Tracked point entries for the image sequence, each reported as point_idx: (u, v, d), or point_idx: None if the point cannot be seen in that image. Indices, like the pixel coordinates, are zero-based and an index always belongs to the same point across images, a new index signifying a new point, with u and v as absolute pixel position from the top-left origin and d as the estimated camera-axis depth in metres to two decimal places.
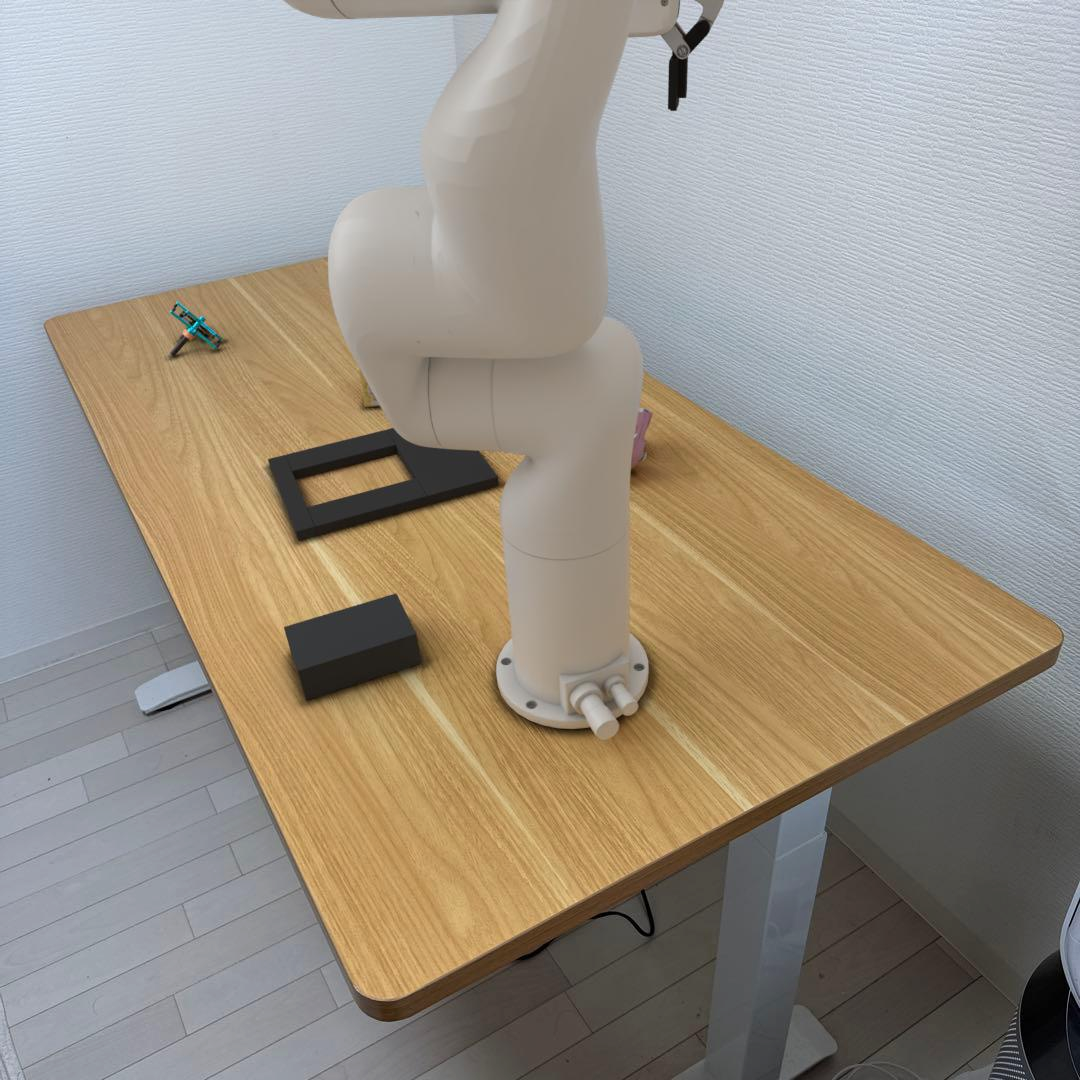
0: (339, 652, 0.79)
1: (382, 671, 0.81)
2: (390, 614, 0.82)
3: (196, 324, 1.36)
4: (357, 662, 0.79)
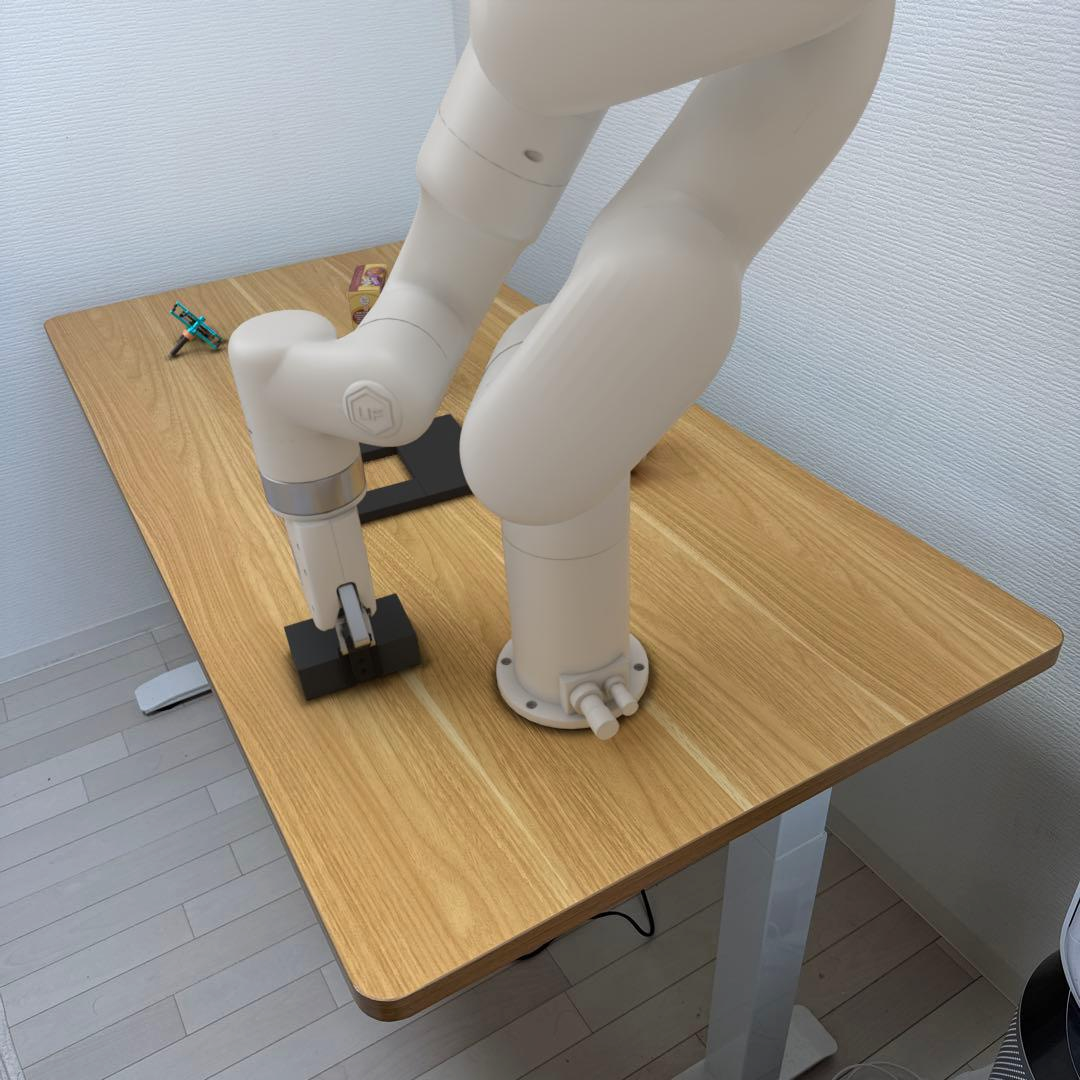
0: None
1: None
2: (390, 614, 0.82)
3: (196, 324, 1.36)
4: None
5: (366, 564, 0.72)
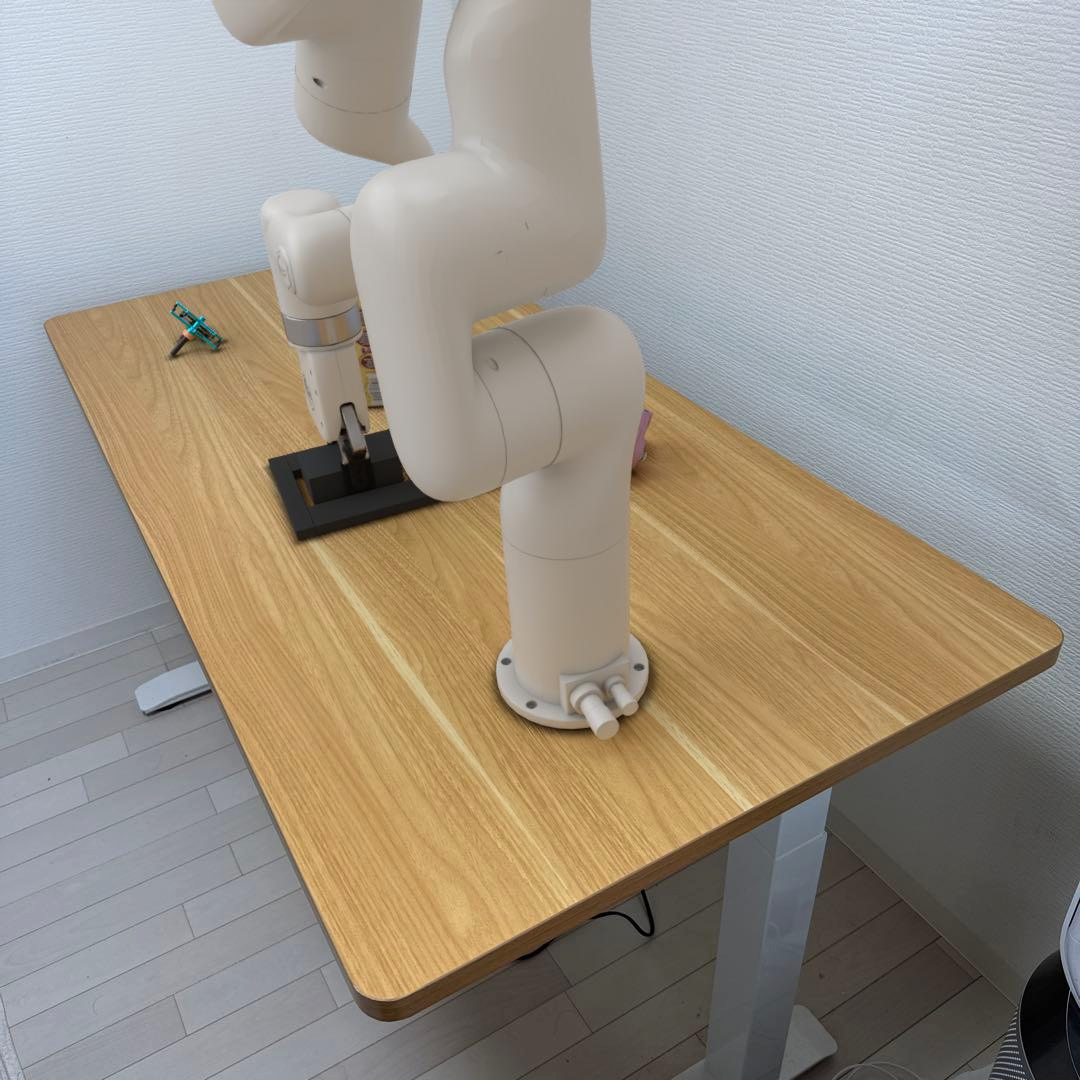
0: None
1: None
2: (380, 444, 1.05)
3: (196, 324, 1.36)
4: None
5: (362, 389, 0.96)
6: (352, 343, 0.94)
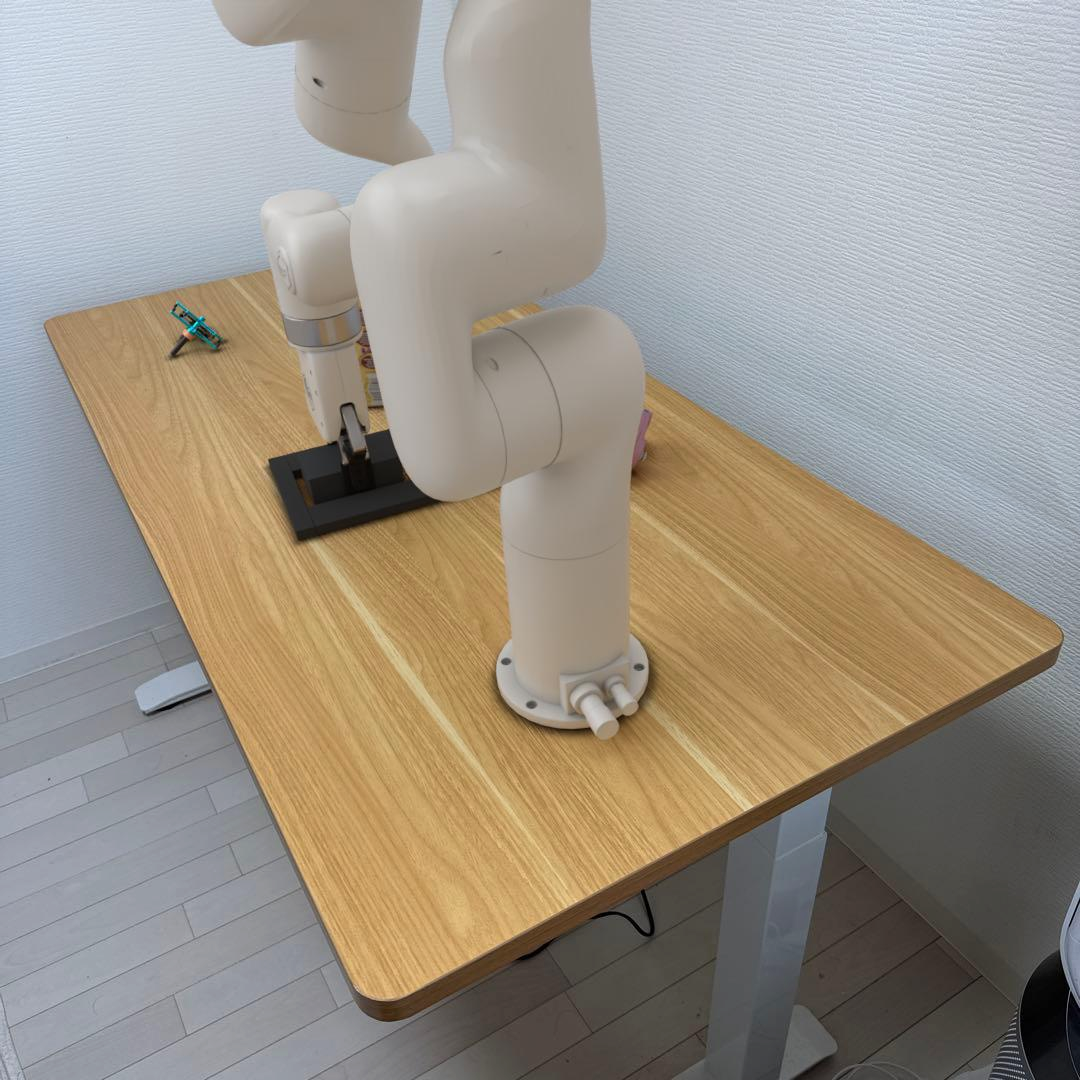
0: None
1: None
2: (380, 444, 1.05)
3: (196, 324, 1.36)
4: None
5: (362, 389, 0.96)
6: (352, 343, 0.94)
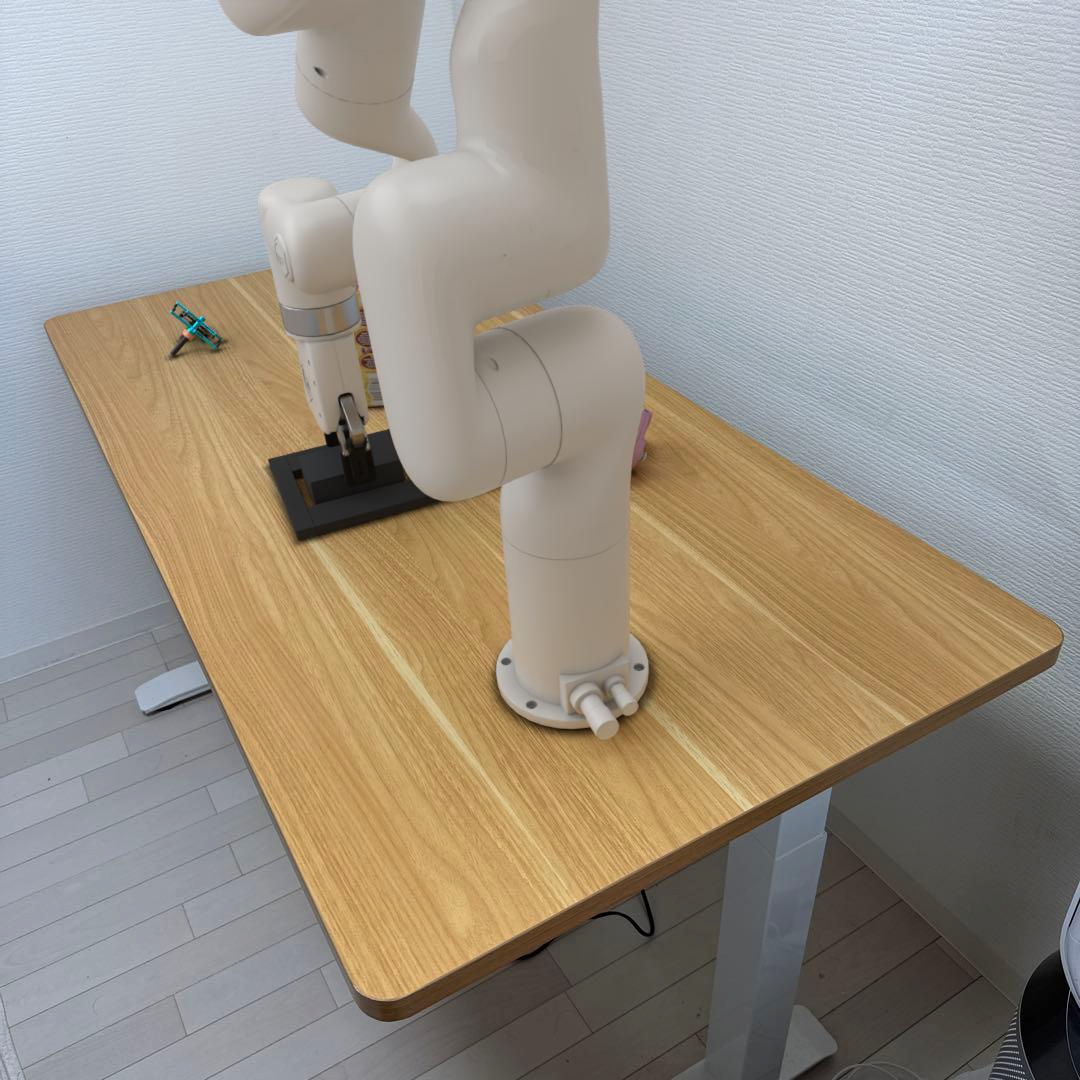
0: (342, 471, 1.02)
1: None
2: (382, 447, 1.05)
3: (196, 324, 1.36)
4: None
5: (360, 379, 0.95)
6: (350, 333, 0.93)
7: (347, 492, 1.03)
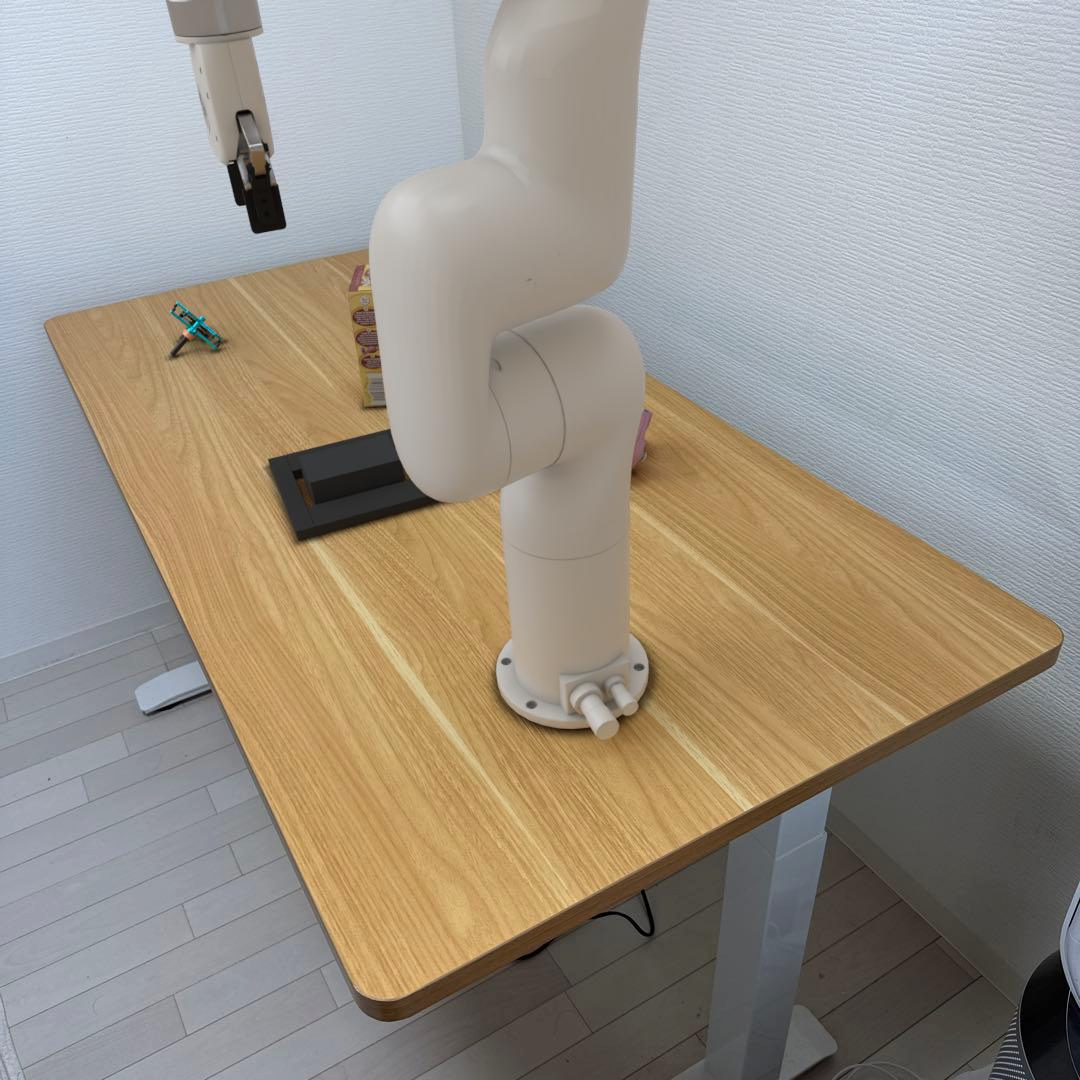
0: (342, 471, 1.02)
1: None
2: (382, 447, 1.05)
3: (196, 324, 1.36)
4: (356, 479, 1.02)
5: (261, 95, 0.84)
6: (248, 37, 0.82)
7: (347, 492, 1.03)
